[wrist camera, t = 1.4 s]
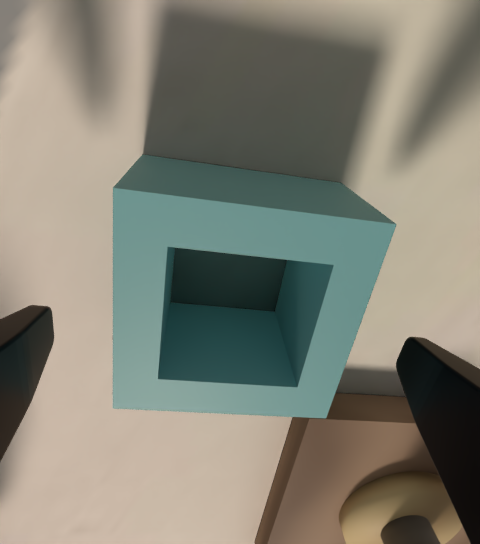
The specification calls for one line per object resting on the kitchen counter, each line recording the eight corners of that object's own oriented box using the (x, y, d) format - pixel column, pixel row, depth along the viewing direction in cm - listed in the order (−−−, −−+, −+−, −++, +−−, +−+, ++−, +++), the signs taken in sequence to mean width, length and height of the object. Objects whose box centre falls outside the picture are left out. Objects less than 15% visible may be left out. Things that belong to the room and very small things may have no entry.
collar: (136, 326, 14) (112, 408, 11) (142, 154, 11) (113, 187, 8) (297, 338, 15) (326, 418, 11) (341, 182, 12) (396, 224, 9)
